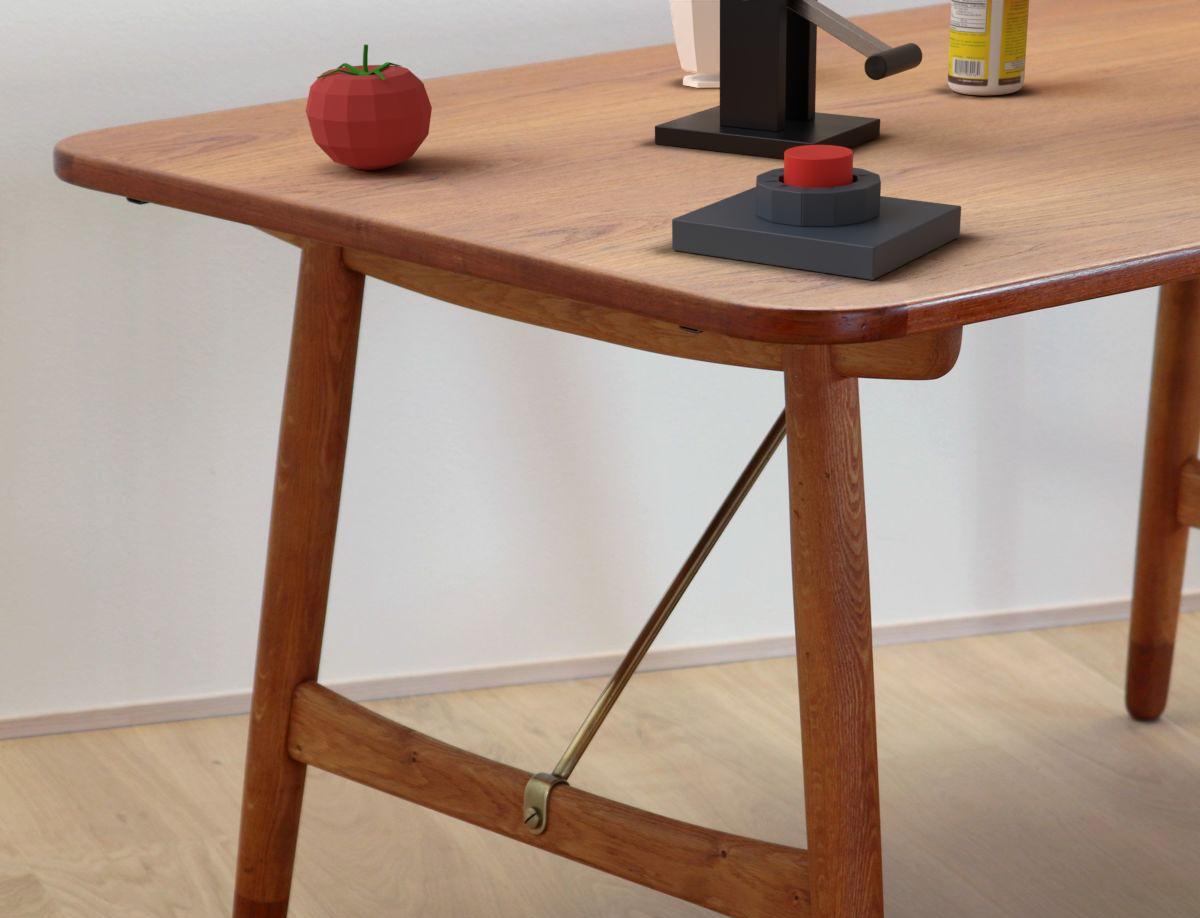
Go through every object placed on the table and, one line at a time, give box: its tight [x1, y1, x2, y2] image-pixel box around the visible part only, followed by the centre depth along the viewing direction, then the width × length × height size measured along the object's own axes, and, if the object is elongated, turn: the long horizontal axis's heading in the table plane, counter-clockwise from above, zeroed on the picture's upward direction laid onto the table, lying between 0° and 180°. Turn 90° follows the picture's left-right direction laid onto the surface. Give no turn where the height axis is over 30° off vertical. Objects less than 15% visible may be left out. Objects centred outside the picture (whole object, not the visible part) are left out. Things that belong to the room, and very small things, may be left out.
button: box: [783, 145, 854, 188], centre depth 101 cm, size 4×4×2 cm
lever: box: [787, 0, 923, 81], centre depth 122 cm, size 12×5×2 cm, turn 55°
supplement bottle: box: [947, 0, 1030, 97], centre depth 140 cm, size 6×6×10 cm
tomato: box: [305, 43, 433, 171], centre depth 122 cm, size 8×8×8 cm
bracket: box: [654, 0, 881, 160], centre depth 125 cm, size 12×9×12 cm
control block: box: [671, 167, 962, 281], centre depth 102 cm, size 12×10×4 cm
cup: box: [668, 0, 720, 89], centre depth 147 cm, size 7×10×8 cm
